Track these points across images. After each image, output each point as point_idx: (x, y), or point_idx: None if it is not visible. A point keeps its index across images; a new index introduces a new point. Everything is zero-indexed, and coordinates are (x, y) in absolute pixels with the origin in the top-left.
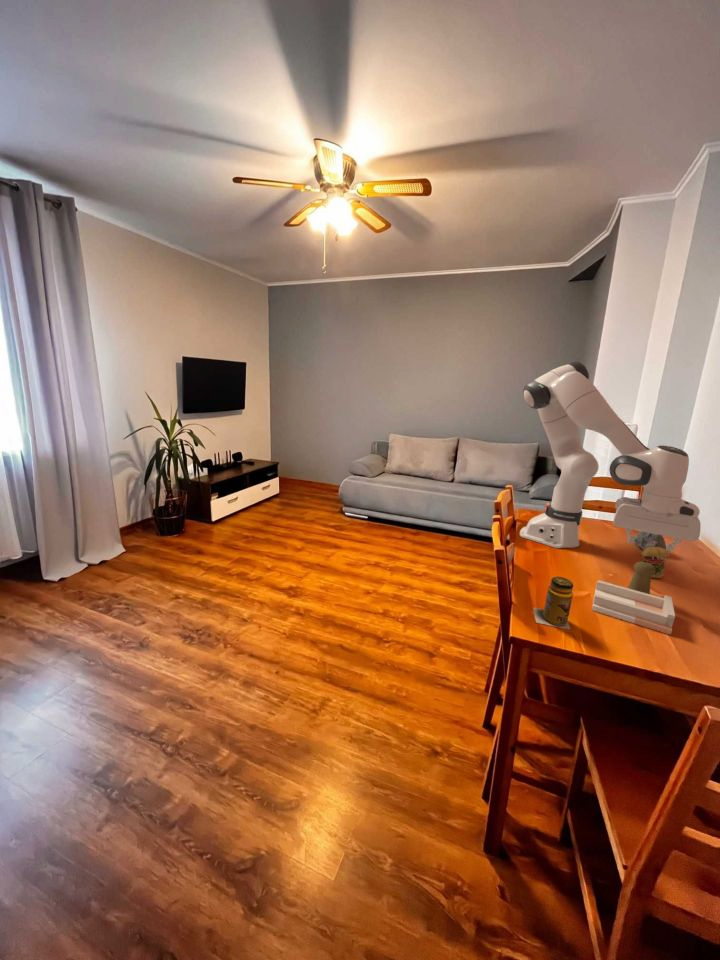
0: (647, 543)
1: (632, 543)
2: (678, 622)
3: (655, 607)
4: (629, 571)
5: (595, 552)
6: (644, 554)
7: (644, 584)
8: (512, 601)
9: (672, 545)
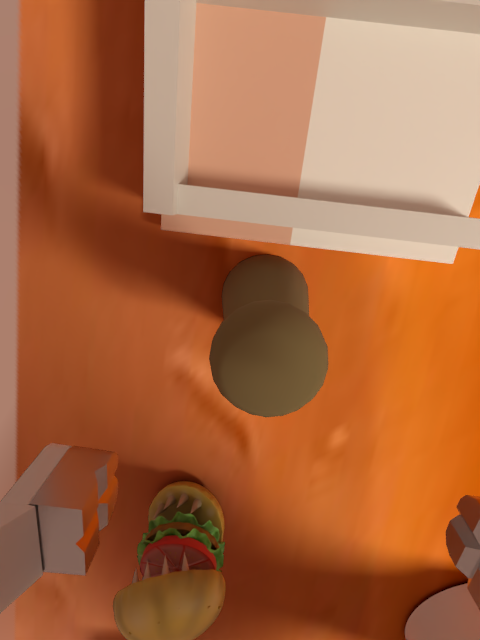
0: None
1: (467, 499)
2: (132, 131)
3: (214, 174)
4: (259, 496)
5: (355, 588)
6: (218, 580)
7: (257, 286)
8: None
9: (13, 520)
